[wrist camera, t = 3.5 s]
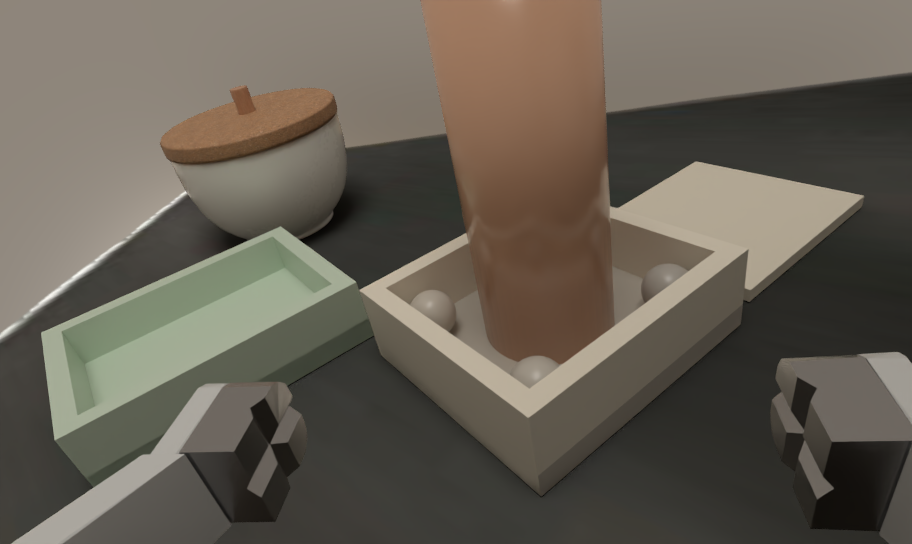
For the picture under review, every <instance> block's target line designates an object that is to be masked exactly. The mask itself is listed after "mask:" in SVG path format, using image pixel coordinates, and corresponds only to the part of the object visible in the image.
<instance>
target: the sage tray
mask: <svg viewBox="0 0 912 544" xmlns="http://www.w3.org/2000/svg"><path fill="white" fill-rule="evenodd" d="M41 336H42V344H43V351H44V359H45V367H46V375H47V383H48V391H49V399H50V407H51V415H52V423H53V431H54V439H55V441H56V443H57V444H58V445H59V446H60V447H61V449H62V450H63V451H64V452H65V454H66V455H67V456H68V457H69V458H70V460H71V461H72V462H73V463H74V464H75V466H76V467H77V468H78V469H79V471H80V472H81V473H82V474H83V475H84V477H85V478H86V479H87V480H88V481H89V483H90V484H91V485H92V486H93V487H96V486H97V485H99V484H100V483H101V482H103V481H104V480H106V479H107V478H109V477H110V476H112V475H113V474H115V473H116V472H118V471H119V470H121V469H122V468H124V467H125V466H127V465H128V464H129V463H131V462H132V461H134V460H135V459H137V458H138V457H140V456H141V455H147V454H151V453H152V451H153V450H154V448H155V447H156V446H157V444H158V443H159V441H160V440H161V439H162V437H163V436H164V435H165V433H166V432H167V430H168V429H169V428H170V426H171V425H172V423H173V422H174V421H175V419H176V418H177V417H178V415H179V414H180V412H181V411H182V410H183V408H184V407H185V406H186V404H187V403H188V401H189V400H190V399H191V397H192V396H193V394H194V393H195V392H196V390H197V389H198V388H199V387H201V386H203V385H205V384H214V383H237V382H281V383H285V384H286V385H287V386H288V385H290V384H291V383H293V382H295V381H296V380H298V379H300V378H302V377H303V376H305V375H307V374H308V373H310V372H312V371H314V370H315V369H317V368H319V367H320V366H322V365H324V364H326V363H327V362H329V361H331V360H332V359H334V358H336V357H338V356H339V355H341V354H343V353H344V352H346V351H348V350H350V349H351V348H353V347H355V346H356V345H358V344H360V343H362V342H363V341H365V340H367V339H368V338H370V337H372V336H374V334H373V331H372V328H371V325H370V322H369V319H368V316H367V313H366V310H365V307H364V304H363V301H362V298H361V295H360V292H359V289H358V286H357V283H356V282H355V281H354V280H353V279H351V278H350V277H348V276H347V275H346V274H344V273H343V272H342V271H340V270H339V269H338V268H336V267H335V266H334V265H332V264H331V263H330V262H328V261H327V260H325V259H324V258H323V257H321V256H320V255H319V254H317V253H316V252H315V251H313V250H312V249H311V248H309V247H308V246H307V245H305V244H304V243H303V242H301V241H300V240H298V239H297V238H296V237H294V236H293V235H292V234H290V233H289V232H288V231H286V230H285V229H284V228H282V227H281V226H280V227H278V228H276V229H274V230H271V231H269V232H267V233H265V234H262V235H260V236H258V237H256V238H253V239H251V240H249V241H247V242H244V243H242V244H240V245H238V246H235V247H233V248H231V249H229V250H226V251H224V252H222V253H220V254H217V255H215V256H213V257H211V258H208V259H206V260H204V261H202V262H199V263H197V264H195V265H193V266H190V267H188V268H186V269H184V270H181V271H179V272H177V273H175V274H172V275H170V276H168V277H166V278H163V279H161V280H159V281H157V282H154V283H152V284H150V285H148V286H145V287H143V288H141V289H139V290H136V291H134V292H132V293H130V294H127V295H125V296H123V297H121V298H118V299H116V300H114V301H112V302H109V303H107V304H105V305H103V306H100V307H98V308H96V309H94V310H91V311H89V312H87V313H85V314H82V315H80V316H78V317H76V318H73V319H71V320H69V321H67V322H64V323H62V324H60V325H58V326H55V327H53V328H51V329H49V330H46V331H44V332H42V333H41Z"/></svg>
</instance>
